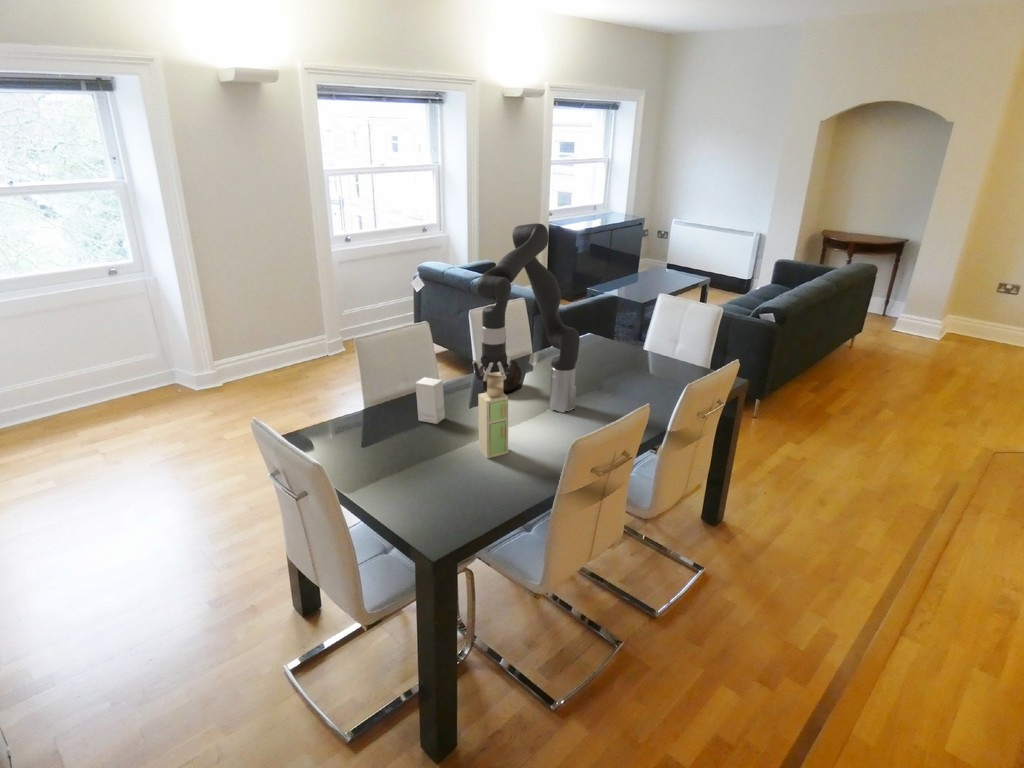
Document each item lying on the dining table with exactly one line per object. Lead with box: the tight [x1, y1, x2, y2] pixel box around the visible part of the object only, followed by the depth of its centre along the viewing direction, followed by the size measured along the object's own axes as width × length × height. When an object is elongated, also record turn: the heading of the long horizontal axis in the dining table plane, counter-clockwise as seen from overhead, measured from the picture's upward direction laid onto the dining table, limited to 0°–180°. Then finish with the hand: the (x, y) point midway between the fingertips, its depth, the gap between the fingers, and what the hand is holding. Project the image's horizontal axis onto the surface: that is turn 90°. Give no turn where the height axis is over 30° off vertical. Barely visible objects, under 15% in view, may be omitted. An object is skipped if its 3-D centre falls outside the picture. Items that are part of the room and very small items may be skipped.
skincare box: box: [415, 376, 446, 425], centre depth 230 cm, size 8×7×16 cm
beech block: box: [485, 372, 504, 396], centre depth 200 cm, size 5×5×6 cm
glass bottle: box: [478, 328, 522, 393], centre depth 257 cm, size 18×18×28 cm
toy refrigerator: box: [477, 392, 509, 459], centre depth 205 cm, size 8×7×21 cm
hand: (493, 389), depth 200 cm, fingers closed on beech block, 5 cm apart
